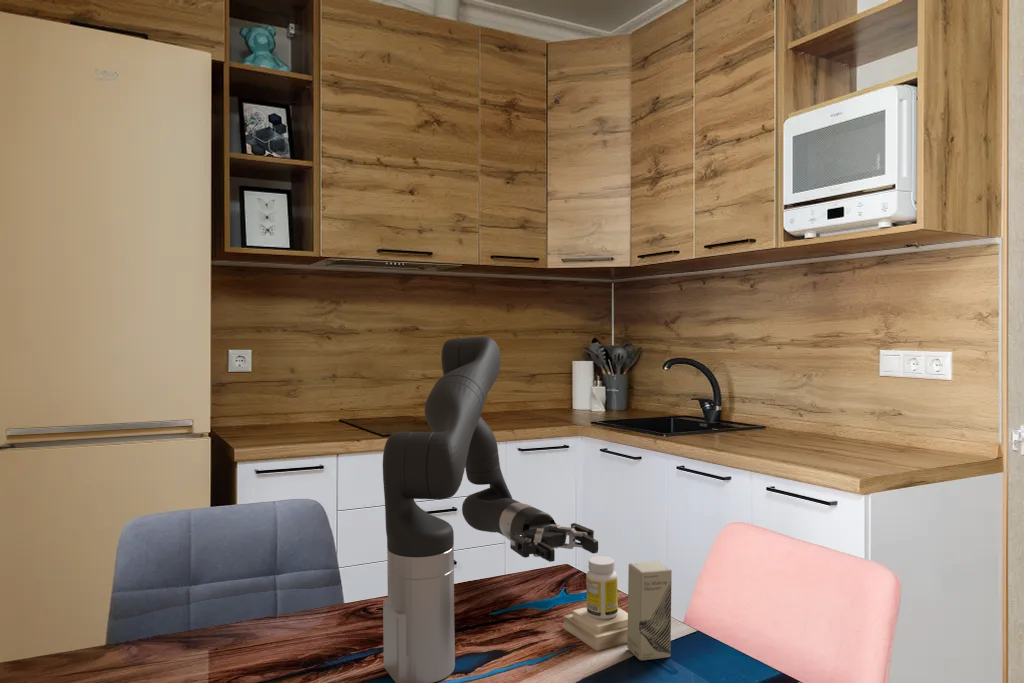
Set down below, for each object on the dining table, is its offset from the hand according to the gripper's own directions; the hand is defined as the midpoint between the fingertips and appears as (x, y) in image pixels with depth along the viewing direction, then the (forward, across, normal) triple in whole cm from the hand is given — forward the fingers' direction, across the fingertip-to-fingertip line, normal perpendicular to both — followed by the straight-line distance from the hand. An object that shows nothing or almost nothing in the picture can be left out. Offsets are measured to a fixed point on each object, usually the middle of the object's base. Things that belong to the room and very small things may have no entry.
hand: (575, 551), depth 117 cm
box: (+17, +2, +11) cm, 20 cm away
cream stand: (+8, 0, +10) cm, 13 cm away
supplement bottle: (+8, 0, +8) cm, 11 cm away
